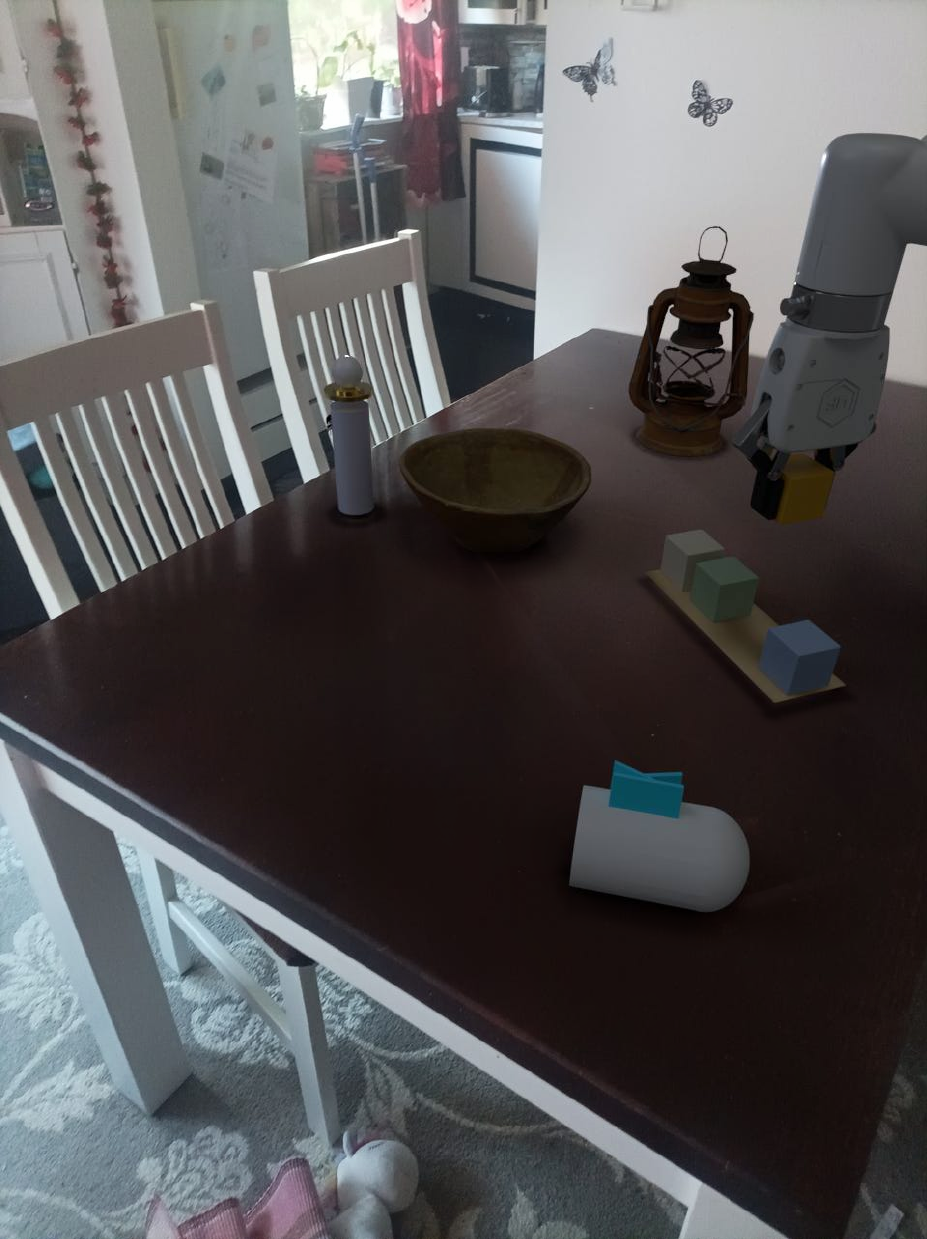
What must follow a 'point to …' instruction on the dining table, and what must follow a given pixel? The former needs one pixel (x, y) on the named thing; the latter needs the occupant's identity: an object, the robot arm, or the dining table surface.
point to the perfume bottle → (351, 436)
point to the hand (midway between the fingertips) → (787, 507)
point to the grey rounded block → (657, 844)
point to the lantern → (700, 311)
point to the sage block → (723, 589)
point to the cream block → (687, 556)
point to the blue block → (798, 657)
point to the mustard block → (803, 489)
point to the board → (737, 639)
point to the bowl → (495, 485)
